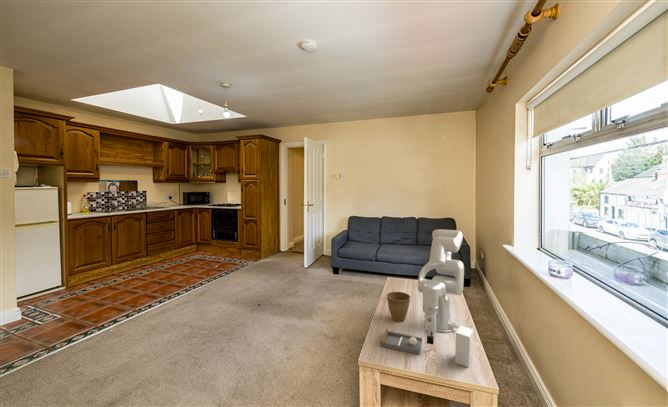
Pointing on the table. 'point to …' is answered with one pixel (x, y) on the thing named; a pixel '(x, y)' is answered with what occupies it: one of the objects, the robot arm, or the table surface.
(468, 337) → the skincare box
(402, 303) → the plant pot
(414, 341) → the ball
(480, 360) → the table surface
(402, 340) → the tray
